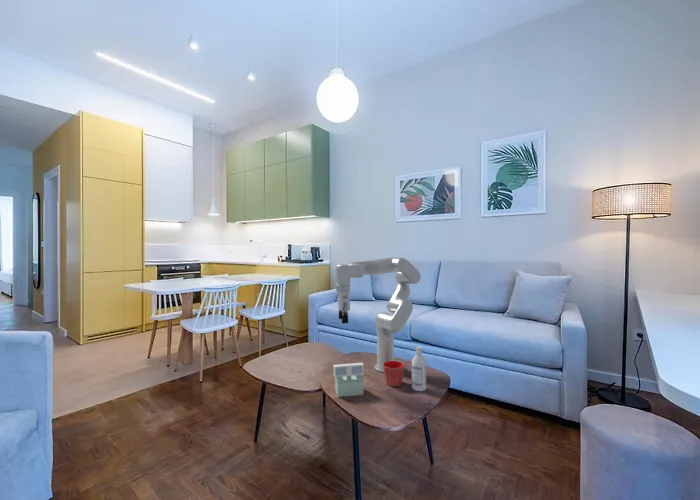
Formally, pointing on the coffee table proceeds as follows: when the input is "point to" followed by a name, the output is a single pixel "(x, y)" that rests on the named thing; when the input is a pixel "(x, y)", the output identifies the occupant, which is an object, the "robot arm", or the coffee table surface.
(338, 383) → the notched toy brick
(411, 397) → the coffee table surface
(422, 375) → the bath foam
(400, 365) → the flower pot
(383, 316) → the robot arm
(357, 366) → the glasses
